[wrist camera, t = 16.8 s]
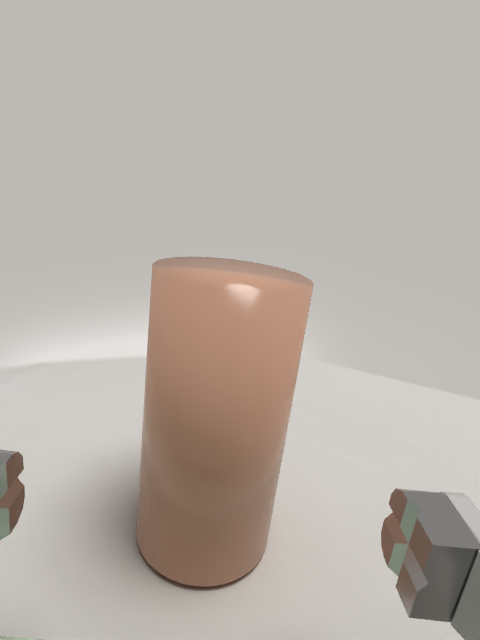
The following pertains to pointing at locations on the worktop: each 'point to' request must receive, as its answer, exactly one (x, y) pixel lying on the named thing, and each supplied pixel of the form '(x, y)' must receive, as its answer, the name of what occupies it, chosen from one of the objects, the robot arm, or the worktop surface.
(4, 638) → the tray
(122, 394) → the worktop surface
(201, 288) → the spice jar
